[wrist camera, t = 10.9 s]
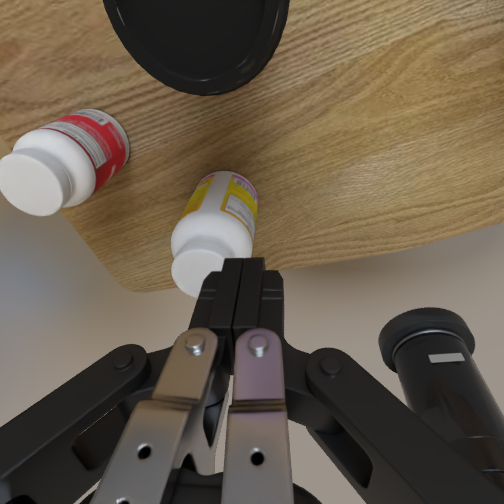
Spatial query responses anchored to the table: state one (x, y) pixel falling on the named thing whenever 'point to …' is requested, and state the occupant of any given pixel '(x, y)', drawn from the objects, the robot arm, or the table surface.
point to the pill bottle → (63, 162)
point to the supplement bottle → (213, 229)
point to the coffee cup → (200, 40)
